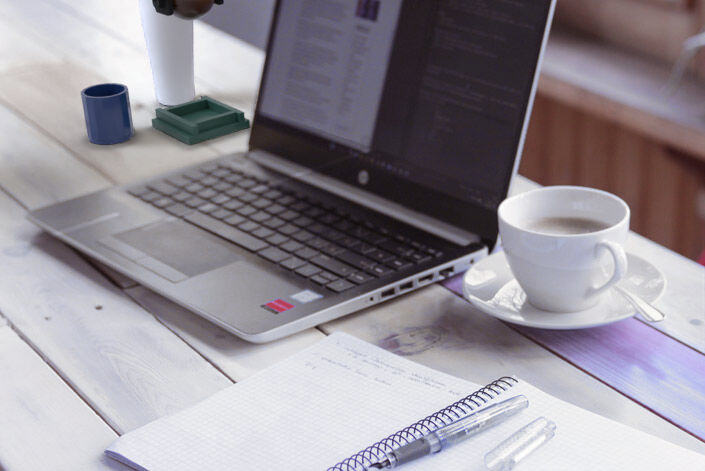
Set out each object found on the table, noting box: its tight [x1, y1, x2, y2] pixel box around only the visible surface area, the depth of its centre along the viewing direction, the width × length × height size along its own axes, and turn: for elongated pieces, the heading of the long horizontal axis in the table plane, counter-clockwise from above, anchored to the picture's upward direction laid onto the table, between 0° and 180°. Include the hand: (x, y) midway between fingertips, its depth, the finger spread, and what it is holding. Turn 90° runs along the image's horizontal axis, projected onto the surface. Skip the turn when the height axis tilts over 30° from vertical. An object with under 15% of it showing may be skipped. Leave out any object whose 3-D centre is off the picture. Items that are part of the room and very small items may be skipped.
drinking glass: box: [138, 0, 196, 107], centre depth 127 cm, size 7×7×15 cm
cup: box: [80, 82, 135, 146], centre depth 117 cm, size 6×6×6 cm
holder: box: [151, 95, 251, 146], centre depth 121 cm, size 9×9×2 cm
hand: (189, 6), depth 114 cm, fingers closed on ball, 6 cm apart
